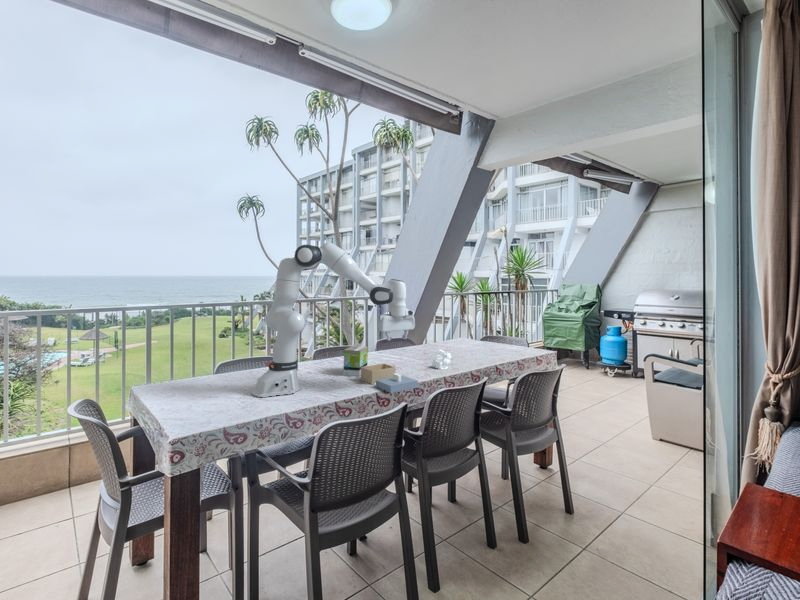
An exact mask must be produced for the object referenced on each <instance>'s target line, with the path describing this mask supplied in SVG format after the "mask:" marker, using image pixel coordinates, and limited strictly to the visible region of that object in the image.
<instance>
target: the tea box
mask: <svg viewBox="0 0 800 600" xmlns="http://www.w3.org/2000/svg"><path fill="white" fill-rule="evenodd" d="M368 348H369V347H368V346H362V345H351V346H349V347H346V348H345V349H343V373H342V374H343V376H347V377H361V367H364V366H368V354H369V350H368Z"/></svg>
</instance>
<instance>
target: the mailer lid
mask: <svg viewBox="0 0 800 600" xmlns="http://www.w3.org/2000/svg"><path fill="white" fill-rule="evenodd" d="M377 387H378V388H377ZM375 388H377V389H379V388H381V389H380V390H382V389H383V390H382V391H384V390H385V391H384V392H387V393H390V394H393V393H399V392H403V391H408V390H413V389H417V388H419V380H418V379H414V378H412V377H409V376H405V375H401V374H398V373H394V374H393V377H391V378H385V379H380V380H376V384H375Z"/></svg>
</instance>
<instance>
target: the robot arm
mask: <svg viewBox="0 0 800 600" xmlns="http://www.w3.org/2000/svg"><path fill="white" fill-rule="evenodd" d="M320 264H323V265H325V266H326V267H327V268H329V270H331V271H332V272H333V273H334V274H336V275H338V276H339V277H342V278H343V279H347V280H350V281H352V282H354V283H355V284H357V285H358V287H360V288H361V289H362V290H364V291H365V292H367V294H368V295H369V299H370V301H371V303H372V304H374V305H375V306H383V305H387V307H388V310H387V311H388V312H382V313H380V315H379V322H378V330H379V332H381V333H384V334H385V337H386V341H388V342H389V341H392V336H391V335H390V333H391V332H398V331H399V332H401V331H403V335H402V336H401V339H402V340H407V336H408V334H409V331H410V330H412V331H413V330H414V329H415V328H416V319H415V311H414V310H411V309H408V308H407V304H406V300H407V285H406V283H405V281H403V280H400V279H395V278H391V279H390V280H387V281H386V282H383V283H382V284H378V283H376V282H375V281H373V279H371V278H369V277H368V276H367V274H365V273H364V272H363V271H362V270H361V269H360V267H359V265H358V263H357V262H356V261H355V260H354V259H353V257H352V256H351V255H349V254H348V253H347V252H346V251H345V250H343V249H342V248H341V247H339V246H338V245H336V244H334V243H332V242H329V241H328V242H325V243H323V244H322V245H320V246H317V245H311V244H302V245H299V246H298V247H297V248H296V249H295V251H294V257H286V258H283V259H281V260H280V262H279V265H278V267H277V273H276V278H275V279H276V280H275V290H274V291H275V292H274V297H273V299H272V302H271V303H272V304H271V306H270V309H269V311H268V312H267V313H266V315H265V317H264V323H265V324H266V326H267V327H268V328H269V329H271V330H272V331H275V332H277V336H276V340H275V342H274V343H273V345H272V361H271V362H270V361H266V362H265V366H266V367H268V370H266V371H265V373H263V374H262V375H261V376H260V377H258V379H257V381H256V384H255V388H252V389H251V391H250V392H251V395H252V394H253V396H254V395H255V396H254V397H256V396H257V397H256V398H260V397H263V398H270V397H269V396H272V397H277V396H276V395H280V396H285V395H284V394H288V395H293V394H292V393H294V394H295V393H296V392H298V391H300V390H301V387H300V382H299V377H298V370H299V369H298V368H299V362H298V359H297V358H298V357H297V356H298V355H297V352H298V351H297V348H298V347H297V346H298V340H299V337H300V334H301V332H302V331H303V330H304V327H305V324H306V319H305V317H304V316H303V315H302V314H301V313H299V312H298V311H296V310H293V308H294V305H295V303H296V302H297V301H298V299H299V295H300V285H301V275H302V273H303V272H304V271H308V270H309V271H310V270H314V269H316V268H317V267H318V266H319V265H320Z"/></svg>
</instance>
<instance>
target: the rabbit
mask: <svg viewBox="0 0 800 600" xmlns="http://www.w3.org/2000/svg"><path fill="white" fill-rule="evenodd" d="M438 353H441V354H443V355H444V356H442V355H435V356H434V357H433V359H432V362H431V366H432V367H433V368H435V369H436V368H439V369H438V370H441V369H443V370H448V369H447V368H449V367H448V366H449V364H451V360H452V354H451V353H449V352H447V351H444V350H442V349H439V350H438Z"/></svg>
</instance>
